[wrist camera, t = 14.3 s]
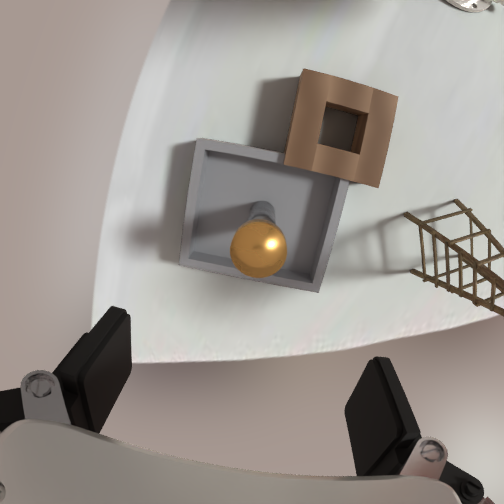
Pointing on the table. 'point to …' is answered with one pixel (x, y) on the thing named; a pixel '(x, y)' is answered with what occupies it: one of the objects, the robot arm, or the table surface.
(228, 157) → the tray
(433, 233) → the miniature windmill
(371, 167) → the socket block
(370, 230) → the table surface
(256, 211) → the pin
